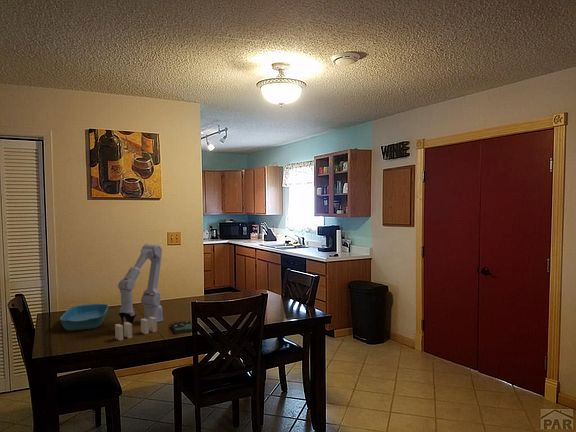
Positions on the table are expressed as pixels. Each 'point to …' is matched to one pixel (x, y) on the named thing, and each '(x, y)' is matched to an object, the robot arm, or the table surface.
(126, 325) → the domino
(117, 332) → the domino
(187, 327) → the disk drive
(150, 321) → the domino
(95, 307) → the casserole dish
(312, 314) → the table surface
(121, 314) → the robot arm
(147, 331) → the domino
